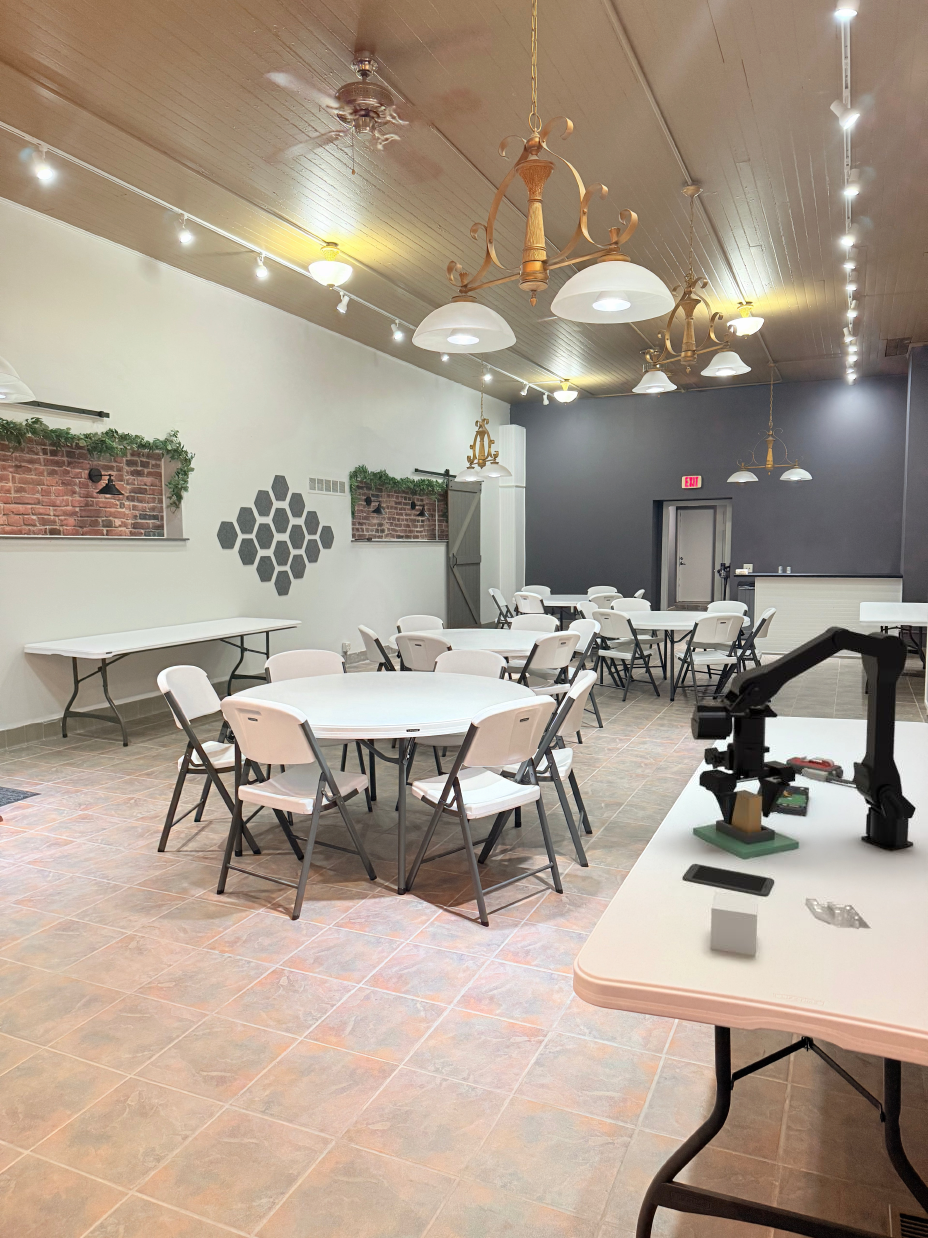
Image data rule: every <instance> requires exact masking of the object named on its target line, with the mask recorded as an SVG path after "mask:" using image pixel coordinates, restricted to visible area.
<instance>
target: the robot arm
mask: <svg viewBox="0 0 928 1238" xmlns="http://www.w3.org/2000/svg"><path fill="white" fill-rule="evenodd" d="M908 648H909V647H908V645H907V643H906V642H905V640H903V638H901V637H900V636H897V635H894V634H889V633H886V632H881V631H872V632H870V633H868V634H864V633H861V632H856V631H852V630H850V629H847V628H845V627H841V626H836V625H835V626H831V627H828V628H826V630H825V631H824V632H822V633H821V634H818V635H817V636H815V637H813V638H812V639H810V640H808V641H807V642H805V643H804V644H801V645H800V646H798V647H796V648H795V649H793V650H791V651H789V652H788V653H787V654H784V655H782V656H781V657H779V658H777V659H775V660H773V661H772V662H769V663H767V664H763V665H759V666H755V667H752V668H748V669H746V670H744V671H741V672H739V673H737V674H736V675H735V676H733V678H732V680H731V684H730V688H729V689H728V690H727V692H726V693H725V694H724V696H723V697H722V698H721V699H720V701H719V702H718V704H717V703H715V704H714V703H713V704H712V703H710V704H707V703H702V702H701V703H699V702H696V703H695V704H694V709H693V711H692V716H691V719H690V729H691V735H692V738H693V740H694V741H695V740H696V741H698V740H699V741H703V740H704V741H709V740H710V741H711V740H712V741H714V740H715V741H726V740H727V738H730V737H731V735H732V742H728V743H727V745H726V749H725V750H721V751H719V749H718V747H715V746H714V747H707V748H704V753H703V756H704V758H703V759H704V762H705V764H706V765H707V766H712V769H709V770H708V769H707V770H703V771H702V772H701V773H700V774H699V781H698V782H699V783H698V784H699V786H700V787H703V788H704V789H705V790H706V791H709V792H711V793H712V794H713V795H714V797H715V799H716V802H717V803H718V806H719V810H720V812H721V815H722V818H723V819H724V821H725V823H726V824H728V825H730V824H731V821H732V818H733V813H734V808H735V803H736V798H737V792H735V790H736V788H737V787H738V783H745V782H752V781H757V780H758V783H759V786H760V785H761V787H762V817H764V818H769V817H770V815H771V814H772V813H773V812H772V810H773V808H774V806H775V805H776V803H777V801H778V800H779V798H780V797H781V795H782V794H783V792H784V791H785V789H786V788H787V787H789V786H790V785H791V783H794V782H796V776H797V774H796V772H795V770H794V768H793V767H792V766H790V765H787V764H786V763H785V762H781V761H777V760H768V761H765V760H766V759H765V754H769V753H770V750H771V749H770V748H771V747H770V746H768V745H766V722H767V721H766V718H768V719H769V718H770V719H771V718H772V719H773V718H775V719H776V718H778V713H776V712H775V711H774V710H773V709H772V708H771V706H770V704H768V701H770V700H771V699H772V698H774V697H775V696H776V695H777V694H778V693H779V691H780V690H781V689H783V687H784V686H785V685H786V684H787V683H788V682H789V681H791V680H793V679H795V678H797V677H798V676H800V675H801V674H803V673H805V672H807V671H809V670H810V669H812V668H815V666H817V665H819V664H821V663H822V662H824V661H826V660H828V659H829V658H831V657H832V656H834V655H836V654H838V653H839V652H841V651H844V650H845V651H849V652H852V653H857V654H860V656H861V664H862V667H863V669H864V672H865V675H866V677H867V682H868V684H867V685H868V686H867V707H866V708H867V710H866V711H867V714H866V739H865V740H866V741H865V742H866V743H865V755H864V756H863V758H862V760H861V762H859V761H853V763H852V764H853V766H852V767H853V772H854V773H853V778H852V780H851V781H852V782H853V783H855V784H856V785H855V789H856V791H857V792H858V793H859V794H860V795H861V796H862V797H863V798H864V801H865V804H866V805H869V806H868V810H867V811H868V812H867V814H866V817H865V818H866V821H865V835H863V836H861V837H860V839H861V840H862V841H863V842H866V843H870V844H872V845H874V846H877V847H880V848H883V849H885V850H887V851H894V850H899V849H904V848H908V847H913V846H914V842H913V841H910V840H909V821H910V819H912V818H913V816H914V814H915V811H916V809H917V808H916V806H914V804H913V803H911V802H910V801H909V800H908V799H907V797H905V796H904V795H903V787H902V780H901V774H900V772H899V769H898V766H897V765H896V762H895V757H894V756H895V737H896V736H895V733H896V732H895V731H896V729H895V728H896V707H897V706H896V705H897V684H898V682H899V679H900V678H901V676H902V675H903V672H904V671H905V668H906V667H905V666H906V664H907V659H908V653H909V649H908ZM723 767H724V770H725V771H723V770H721V769H718V768H723ZM726 771H731V773H729V772H726ZM723 819H722V820H723Z"/></svg>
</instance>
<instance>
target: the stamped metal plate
mask: <svg viewBox="0 0 928 1238" xmlns="http://www.w3.org/2000/svg"><path fill="white" fill-rule="evenodd" d="M805 905H806V906H807V907H808V909H809V910H810V912H811V914H812V915H813V916H814V917H815V918H816V919H818V920H821V921H822V922H826V923H827V924H830V925H832V926H834V927H836V928H842V929H864V930H865V929H866V930H867V929H869V930H871V927H870V926H869V924H868V923H867V922H866V921H865V920H864V918H863V917H862V915H860V914H859V912H858V911H857V910H856V909H855V907H853V906H852V905H853V904H852V905H851V904H843V906H840V904H838V903H837V904H836V903H835V904H834V901H826V903H820V902H819V900H817V898H809V897H808V898H807V897H806V898H805Z"/></svg>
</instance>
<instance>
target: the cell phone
mask: <svg viewBox="0 0 928 1238" xmlns="http://www.w3.org/2000/svg"><path fill="white" fill-rule="evenodd" d="M682 881H685V882H689V883H693V884H698V885H704V886H709V887H713V888H720V889H723V890H728V891H734V892H738V893H743V894H748V895H752V896H753V895H754V896H757V897H765V898H766V897H769V895H770V894H771V891H772V889H773V887H774V885H775V880H774V879H773V878H771V877H769V876H768V877H767V876H762V875H756V874H752V873H747V872H741V871H735V870H730V869H724V868H720V867H714V866H709V865H704V864H698V863H693V864H691V865H690V866H689V867H688V868H687V870H686V872H684V874H683V875H682Z"/></svg>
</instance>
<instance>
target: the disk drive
mask: <svg viewBox="0 0 928 1238" xmlns="http://www.w3.org/2000/svg"><path fill="white" fill-rule="evenodd" d="M756 794H757V795H759V796H762V787H761V785H760V784H759V787H758V789H757V792H756ZM809 794H810V787H807V786H797V785H791V784H790V786H789V787H787V788H786V789H785V791H784V792H783V794H782V795H781V797H780V798H779V800H778V801H777V803H776V805H775V806H774V808H773V810H772V812H771V813H773V812H777V813H776V814H781V813H783V815H791V816H799V817H806V815H807V810H808V803H809V798H810V797H809V796H810V795H809Z"/></svg>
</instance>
